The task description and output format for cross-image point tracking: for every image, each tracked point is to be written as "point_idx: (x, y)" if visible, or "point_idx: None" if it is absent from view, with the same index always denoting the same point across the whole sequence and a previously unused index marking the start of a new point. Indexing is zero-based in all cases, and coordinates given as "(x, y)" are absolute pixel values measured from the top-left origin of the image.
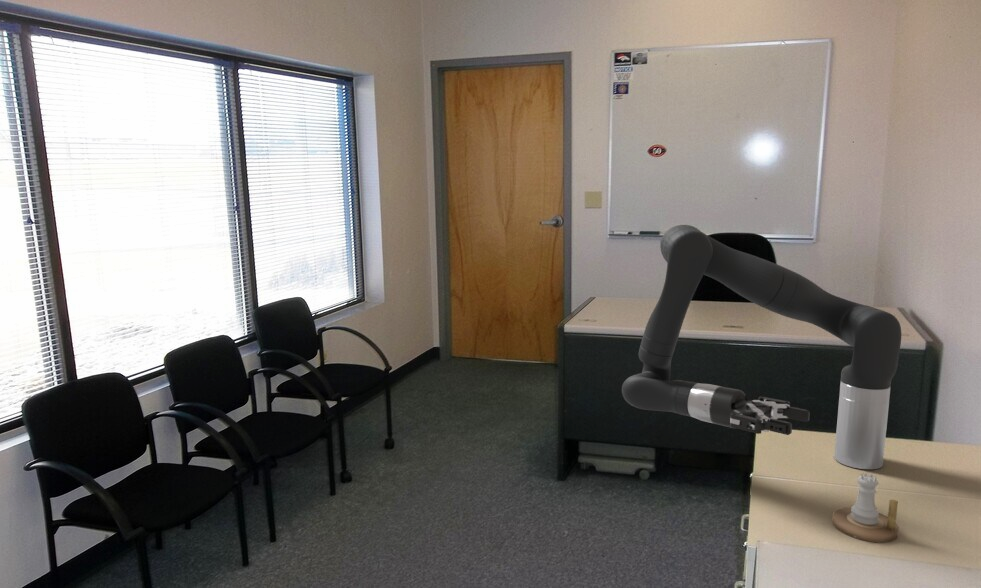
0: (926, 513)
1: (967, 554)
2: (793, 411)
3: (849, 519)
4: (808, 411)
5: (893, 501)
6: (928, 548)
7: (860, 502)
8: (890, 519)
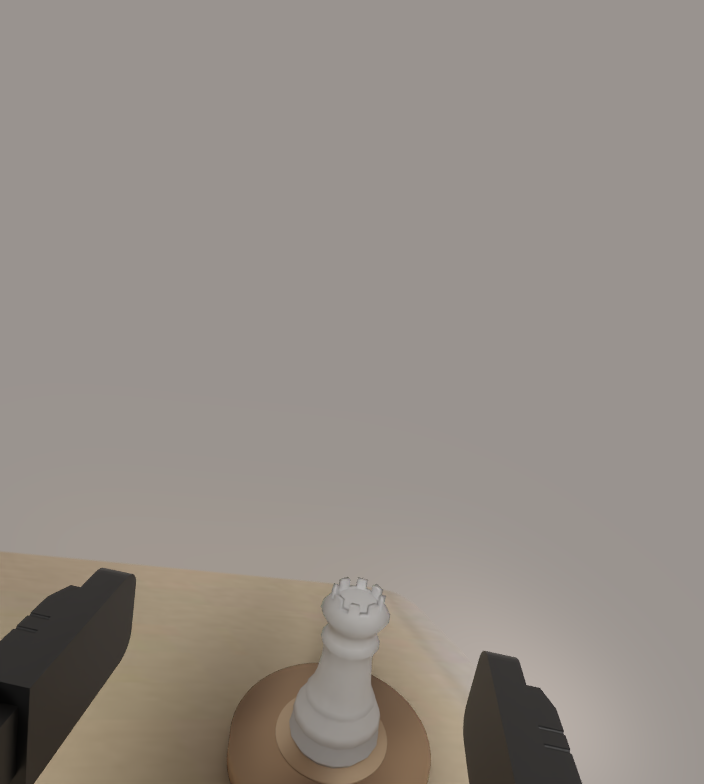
0: None
1: (325, 587)
2: (65, 675)
3: (358, 775)
4: (113, 571)
5: None
6: None
7: (368, 686)
8: None
